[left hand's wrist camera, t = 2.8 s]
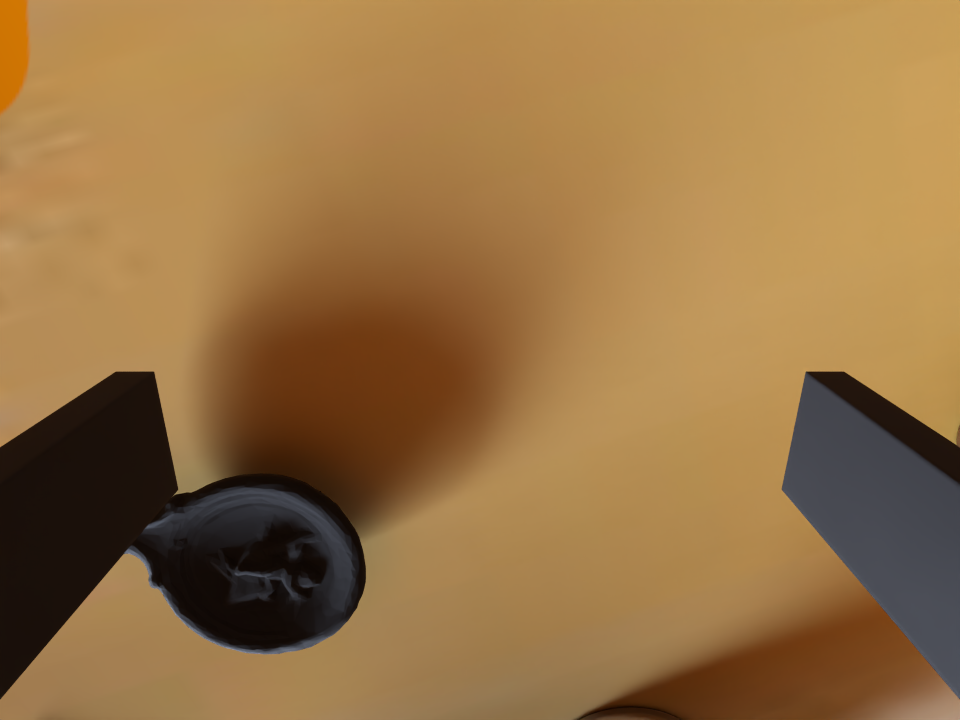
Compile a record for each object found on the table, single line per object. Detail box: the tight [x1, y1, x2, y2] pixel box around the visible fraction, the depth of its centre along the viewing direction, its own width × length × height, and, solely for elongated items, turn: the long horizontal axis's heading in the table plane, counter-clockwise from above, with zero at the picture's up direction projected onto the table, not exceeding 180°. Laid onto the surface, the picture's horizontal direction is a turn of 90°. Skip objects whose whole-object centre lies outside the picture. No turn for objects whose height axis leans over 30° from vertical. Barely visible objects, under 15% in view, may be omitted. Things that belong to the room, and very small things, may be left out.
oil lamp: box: [124, 474, 366, 654], centre depth 44 cm, size 15×20×5 cm
